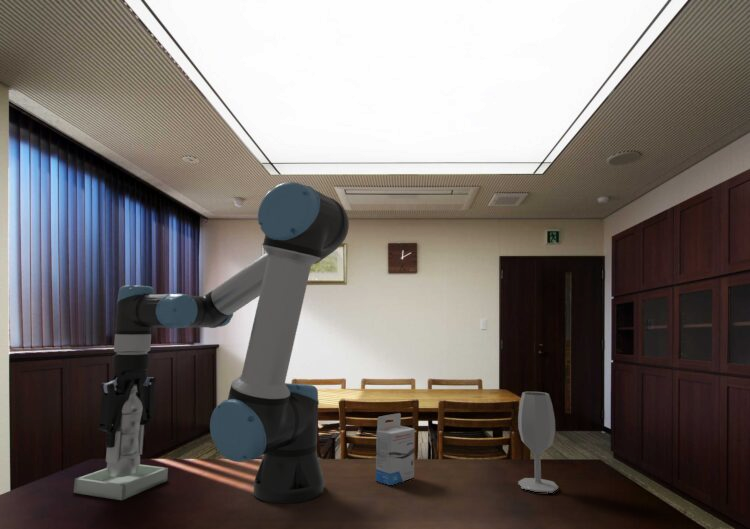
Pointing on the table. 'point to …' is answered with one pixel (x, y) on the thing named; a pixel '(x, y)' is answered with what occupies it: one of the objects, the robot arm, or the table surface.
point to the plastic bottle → (128, 438)
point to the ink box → (394, 450)
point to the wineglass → (536, 435)
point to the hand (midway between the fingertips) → (124, 457)
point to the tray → (120, 482)
